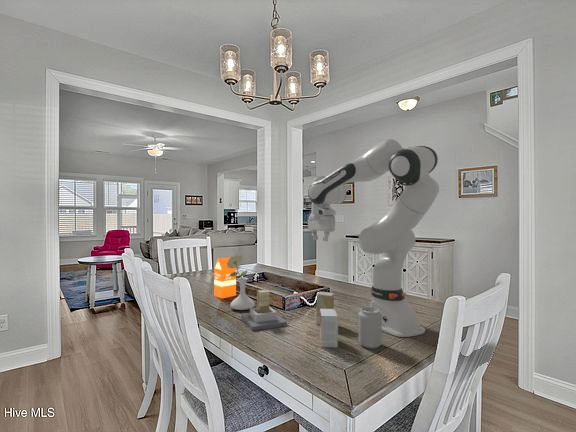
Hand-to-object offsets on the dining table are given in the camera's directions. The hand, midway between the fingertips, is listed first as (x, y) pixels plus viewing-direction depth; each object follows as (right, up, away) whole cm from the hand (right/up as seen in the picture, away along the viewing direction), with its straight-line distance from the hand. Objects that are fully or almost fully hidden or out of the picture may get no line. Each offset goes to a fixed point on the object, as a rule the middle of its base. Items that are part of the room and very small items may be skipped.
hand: (320, 240), depth 148 cm
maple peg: (-26, -30, -21) cm, 45 cm away
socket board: (-26, -31, -21) cm, 46 cm away
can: (+12, -32, -43) cm, 55 cm away
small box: (-2, -32, -42) cm, 52 cm away
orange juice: (-49, -31, +18) cm, 60 cm away
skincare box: (-1, -32, -24) cm, 40 cm away
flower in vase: (-37, -31, -5) cm, 49 cm away
